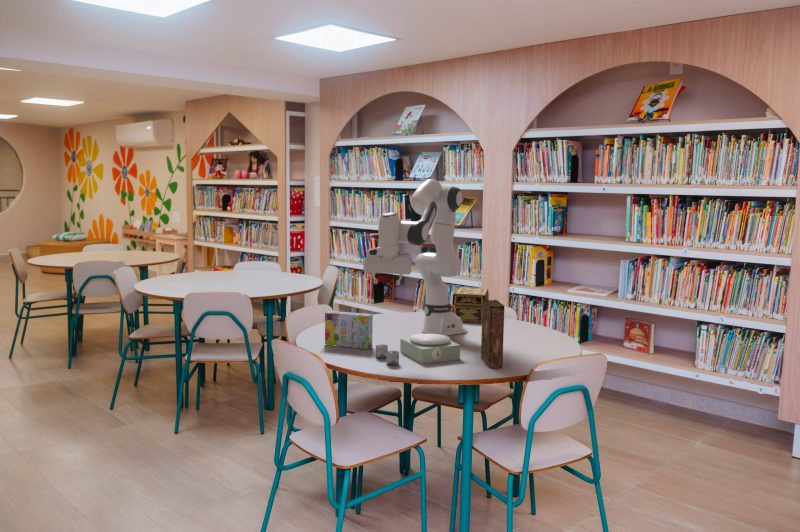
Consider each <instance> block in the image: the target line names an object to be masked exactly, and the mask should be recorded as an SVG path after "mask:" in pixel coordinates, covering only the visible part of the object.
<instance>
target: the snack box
mask: <svg viewBox="0 0 800 532" xmlns="http://www.w3.org/2000/svg"><path fill="white" fill-rule="evenodd" d="M373 315H374V314H373V313H363V312H362V313H361V312H348V311H334V310H330V311H329V310H328V311H326V312H325V313H324V345H325V344H326V345H325V346H328V345H336V346H335V347H338V346H344V347H343V348H349V347H352V349H359V348H360V350H369V349H371V347H373V326H374V325H373V324H374V323H373V318H374V317H373Z"/></svg>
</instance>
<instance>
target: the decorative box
mask: <svg viewBox="0 0 800 532" xmlns="http://www.w3.org/2000/svg"><path fill="white" fill-rule="evenodd" d="M489 295H490V294H489V288H488V287H468V286H467V287H466V286H458V287H457V288H456V290H455V291H454V292H453V294H452V300H451V301H452V302H451V303H452V304H451V305H455V309H451V311H452V312H453V313H454V314H456V315H457V316H458V317H459V318H461V320H462V323H471V324H473V323H474V324H477V323H478V324H482V306H483V300H490V299H489V298H490V296H489Z"/></svg>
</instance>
